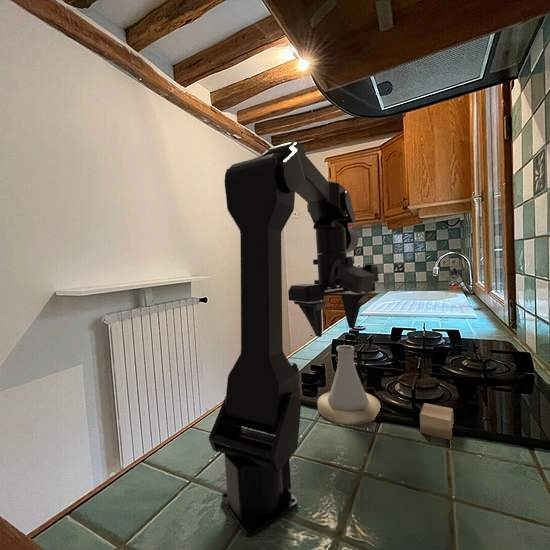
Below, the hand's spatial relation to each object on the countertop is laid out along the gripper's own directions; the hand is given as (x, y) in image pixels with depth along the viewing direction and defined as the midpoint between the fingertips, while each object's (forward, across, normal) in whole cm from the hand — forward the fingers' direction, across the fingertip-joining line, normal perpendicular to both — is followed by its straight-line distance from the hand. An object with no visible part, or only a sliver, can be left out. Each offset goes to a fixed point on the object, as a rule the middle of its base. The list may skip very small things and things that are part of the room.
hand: (336, 332), depth 60 cm
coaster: (+12, -3, -5) cm, 14 cm away
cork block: (+13, +2, -18) cm, 22 cm away
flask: (+12, -3, -5) cm, 13 cm away
